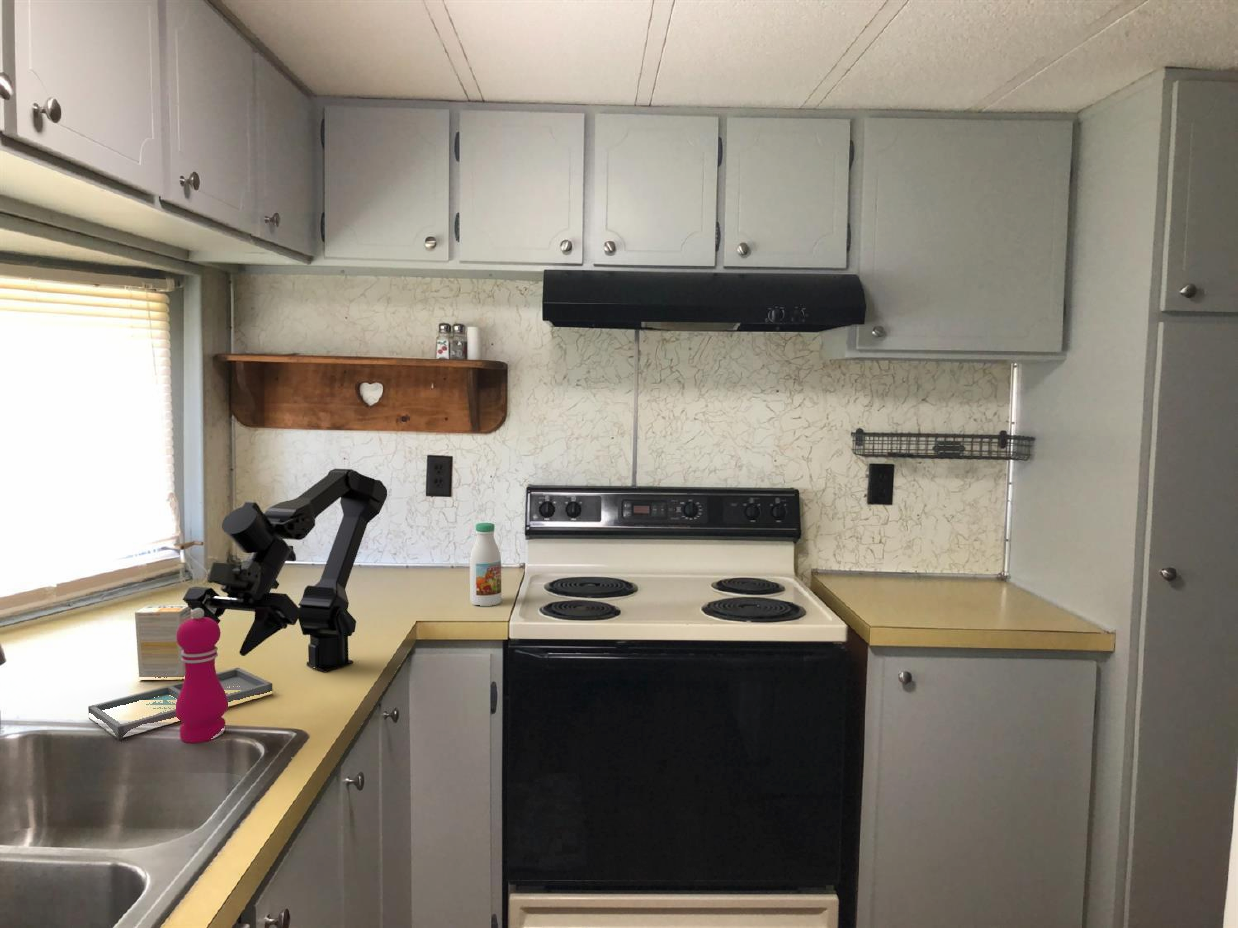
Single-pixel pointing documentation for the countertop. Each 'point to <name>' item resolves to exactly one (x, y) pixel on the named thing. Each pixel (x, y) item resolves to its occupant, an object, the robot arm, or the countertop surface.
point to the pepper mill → (200, 680)
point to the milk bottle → (485, 568)
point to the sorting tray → (231, 678)
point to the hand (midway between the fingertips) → (216, 652)
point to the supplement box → (160, 640)
